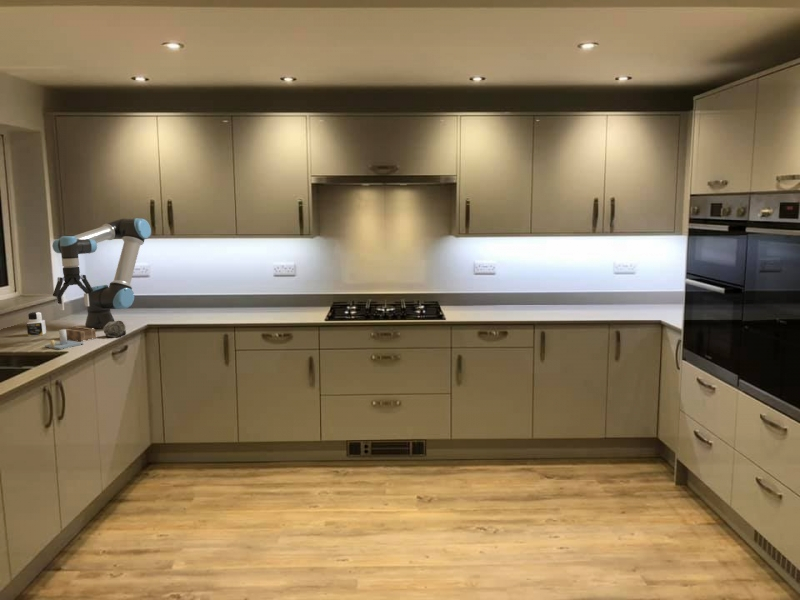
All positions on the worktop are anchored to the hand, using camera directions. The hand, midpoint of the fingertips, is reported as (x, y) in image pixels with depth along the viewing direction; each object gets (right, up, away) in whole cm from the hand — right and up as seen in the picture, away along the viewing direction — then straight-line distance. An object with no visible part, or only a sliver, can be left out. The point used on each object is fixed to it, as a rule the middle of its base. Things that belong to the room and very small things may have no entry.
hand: (74, 308), depth 312 cm
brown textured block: (0, -16, +3) cm, 16 cm away
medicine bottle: (-28, -15, +15) cm, 35 cm away
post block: (+2, -18, -14) cm, 23 cm away
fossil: (+18, -15, +7) cm, 24 cm away
